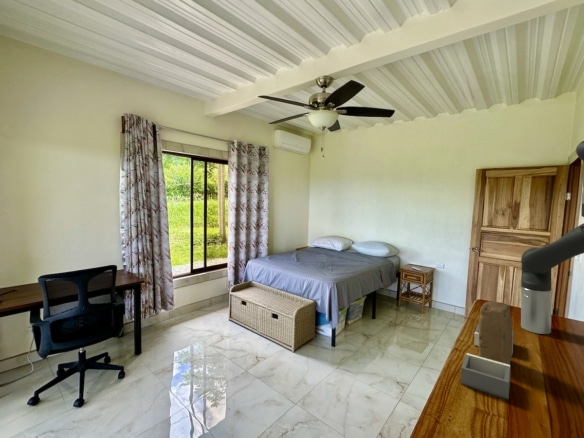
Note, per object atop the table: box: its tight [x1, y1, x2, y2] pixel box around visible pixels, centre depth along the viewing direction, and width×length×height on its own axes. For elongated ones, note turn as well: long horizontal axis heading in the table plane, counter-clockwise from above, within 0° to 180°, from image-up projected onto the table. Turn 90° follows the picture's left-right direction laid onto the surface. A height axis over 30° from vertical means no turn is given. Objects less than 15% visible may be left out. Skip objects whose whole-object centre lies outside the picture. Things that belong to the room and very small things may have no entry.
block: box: [478, 300, 513, 366], centre depth 91 cm, size 11×8×20 cm
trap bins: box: [460, 323, 514, 401], centre depth 92 cm, size 37×11×5 cm, turn 140°
